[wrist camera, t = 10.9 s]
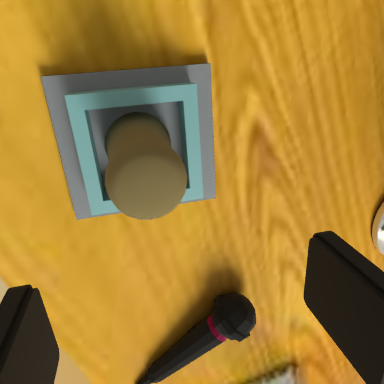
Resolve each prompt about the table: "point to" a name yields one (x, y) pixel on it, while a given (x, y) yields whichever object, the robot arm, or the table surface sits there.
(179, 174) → the cork
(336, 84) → the table surface
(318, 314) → the robot arm
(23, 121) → the table surface
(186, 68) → the socket
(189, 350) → the microphone
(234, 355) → the table surface
